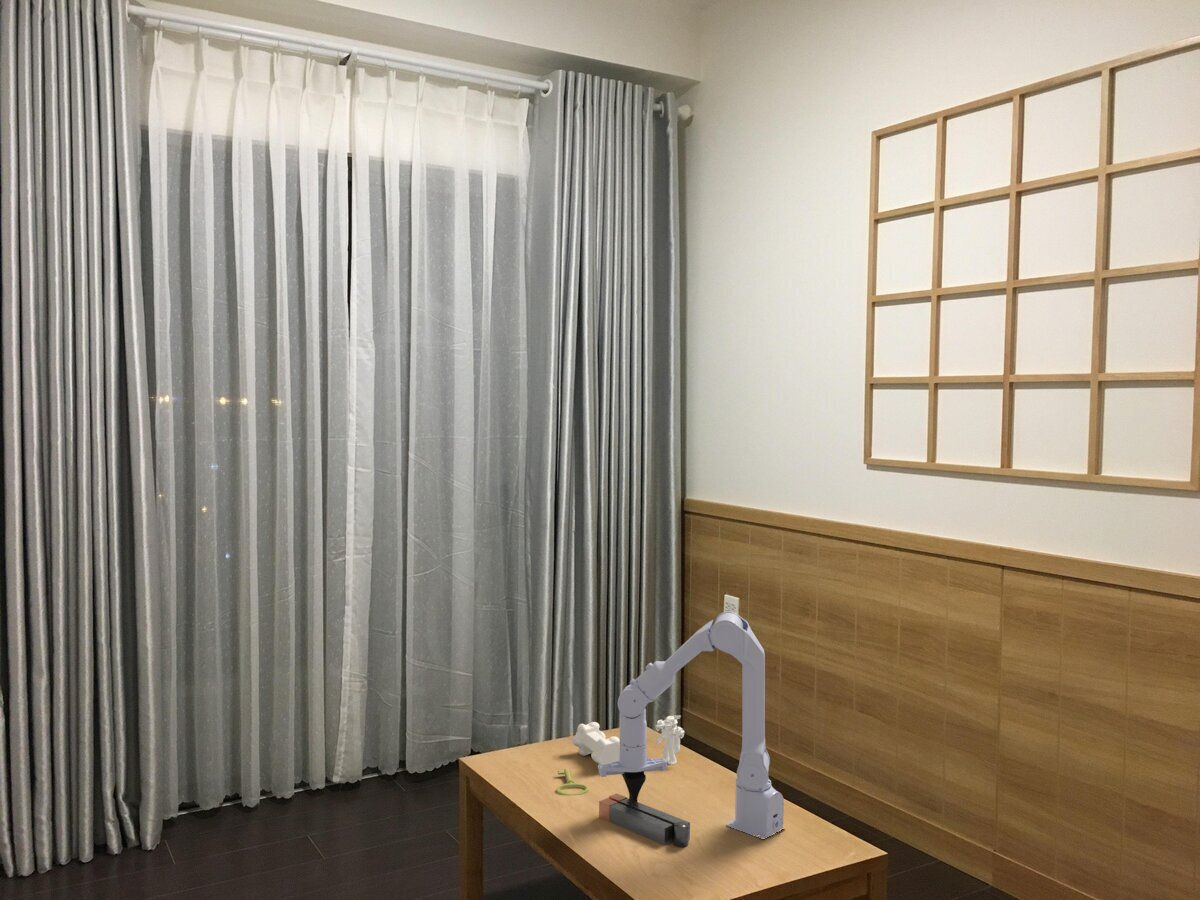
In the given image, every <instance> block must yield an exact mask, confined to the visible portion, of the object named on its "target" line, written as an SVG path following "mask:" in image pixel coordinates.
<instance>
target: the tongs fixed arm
mask: <svg viewBox="0 0 1200 900" xmlns="http://www.w3.org/2000/svg"><path fill="white" fill-rule="evenodd" d="M598 803H599V804H598V805H599V806H598V818H599V819H602V820H604V821H606V822H610V823H612V824H614V825H616V826H619V827H620V828H623V829H625V830H628V831H630V832H633V833H635V834H638V835H640V836H642V837H644V838H647V839H649V840H651V841H653V842H656V843H658V844H660V845H662V846H666V845H668V844H670V843H672V842H673V840H672V834H673V825H672V824H669V823H667V822H664V821H662V820H659V819H657V818H654V817H652V816H649V815H647V814H644V813H642V812H640V811H637V810H635V809H632V808H630V807H627V806H625V805H622V804H620V803H618V802H616V801H614V800H611V799H609V797H607V798H603V799H602V800H599V802H598Z"/></svg>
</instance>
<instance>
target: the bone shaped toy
mask: <svg viewBox="0 0 1200 900" xmlns="http://www.w3.org/2000/svg"><path fill="white" fill-rule="evenodd" d="M600 726H601V725H600V724H599V722H596V721H592V722H590V723H588V724H584V723H579V725H578V726H577V728H576V729H577V730H576V733H575V735H574V736H573V737H572V738H571V741H572V743H573V745H574V746H575V747H577V748H578V749H577V751H578V754H579V755H580V756H583V757H585V756H588V755H589V754H590V755H591V759H592V760H593V761H594V762H595V763H597V769H598V770H599V765H604V764H608V763H612V762H616V761H619V760H620V737H618V736H615V735H613V736H610V737H609V738H607V737H606V735H605V733H604V732H603V731H602V730H600Z"/></svg>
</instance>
